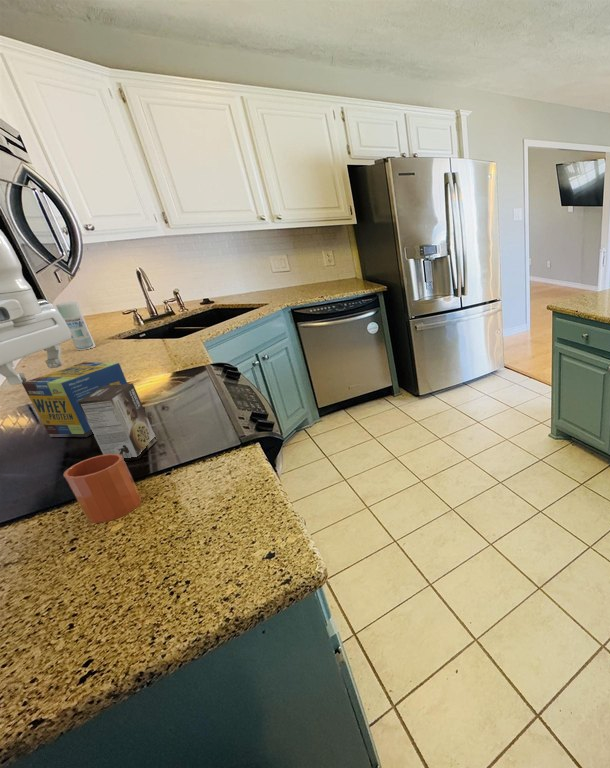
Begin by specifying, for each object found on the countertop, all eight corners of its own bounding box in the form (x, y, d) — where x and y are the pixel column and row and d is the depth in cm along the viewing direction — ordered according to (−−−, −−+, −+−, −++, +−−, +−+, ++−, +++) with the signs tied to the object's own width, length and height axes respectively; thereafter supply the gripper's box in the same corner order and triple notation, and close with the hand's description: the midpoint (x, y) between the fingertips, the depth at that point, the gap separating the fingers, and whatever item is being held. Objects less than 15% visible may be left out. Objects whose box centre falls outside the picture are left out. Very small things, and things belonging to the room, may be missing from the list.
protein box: (48, 438, 105) (19, 382, 99) (107, 411, 119) (84, 361, 113) (86, 438, 104) (59, 383, 98) (141, 411, 118) (120, 361, 112)
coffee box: (127, 445, 100) (101, 385, 94) (158, 441, 102) (134, 382, 96) (106, 465, 92) (75, 401, 86) (140, 460, 94) (112, 397, 88)
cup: (76, 526, 74) (51, 480, 70) (105, 499, 81) (83, 456, 77) (126, 519, 76) (104, 474, 72) (150, 493, 83) (131, 451, 79)
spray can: (75, 351, 174) (54, 305, 166) (77, 348, 179) (56, 303, 171) (95, 348, 178) (76, 303, 170) (97, 345, 183) (77, 301, 175)
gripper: (29, 298, 86) (58, 359, 91) (-72, 320, 68) (-29, 396, 73) (65, 296, 87) (92, 357, 93) (-24, 317, 69) (15, 392, 74)
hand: (38, 374), depth 83 cm, fingers open, 8 cm apart
